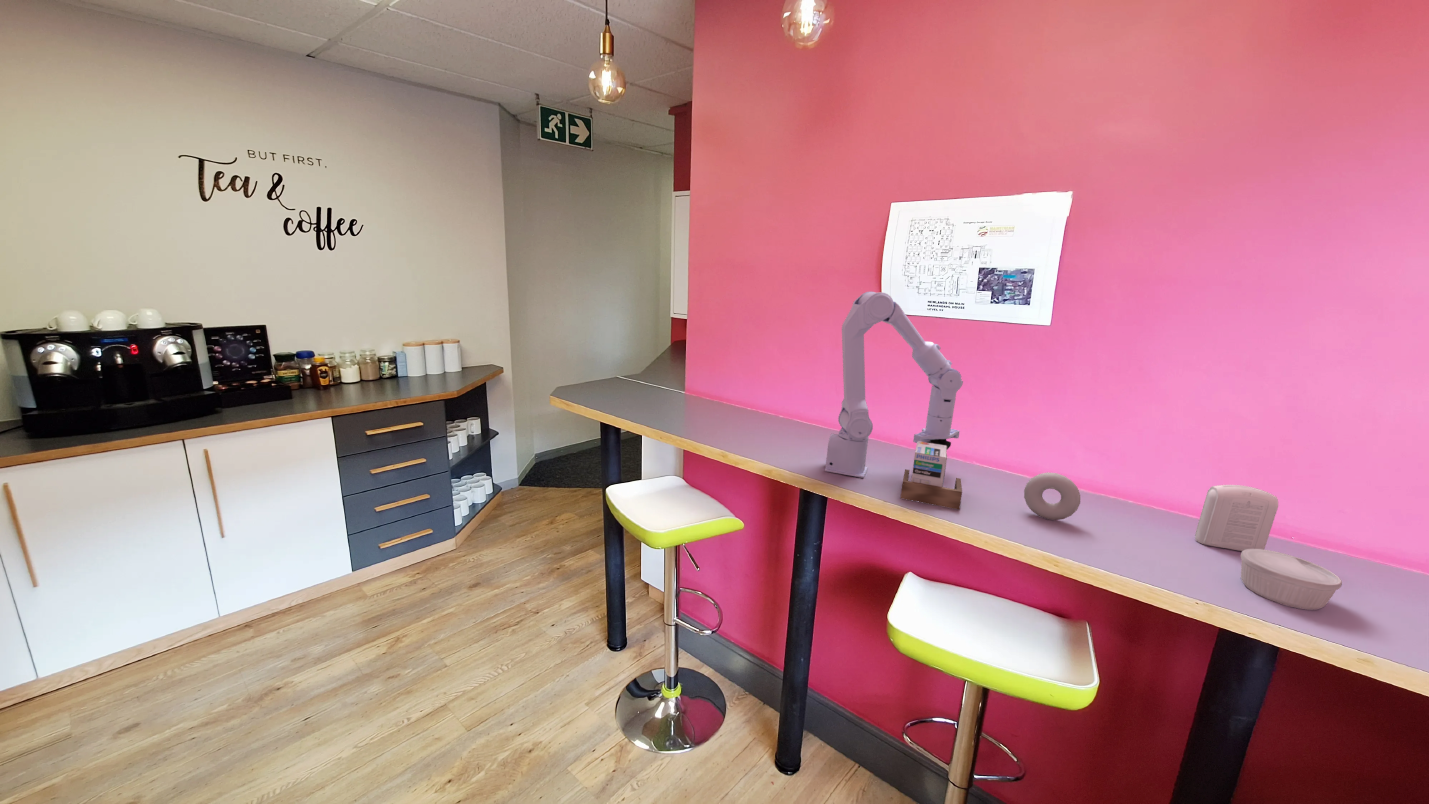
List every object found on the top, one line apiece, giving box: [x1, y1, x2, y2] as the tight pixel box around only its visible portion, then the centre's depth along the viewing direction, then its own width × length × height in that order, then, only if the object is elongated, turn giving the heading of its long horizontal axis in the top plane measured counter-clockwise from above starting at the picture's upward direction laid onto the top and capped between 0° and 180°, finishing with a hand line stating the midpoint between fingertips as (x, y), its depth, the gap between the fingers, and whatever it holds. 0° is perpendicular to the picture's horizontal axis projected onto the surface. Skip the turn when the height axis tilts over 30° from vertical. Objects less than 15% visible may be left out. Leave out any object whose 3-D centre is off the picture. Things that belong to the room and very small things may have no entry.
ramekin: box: [1240, 549, 1343, 611], centre depth 87 cm, size 11×11×5 cm
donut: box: [1023, 471, 1081, 521], centre depth 112 cm, size 10×4×10 cm, turn 55°
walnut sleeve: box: [899, 469, 963, 511], centre depth 120 cm, size 12×9×4 cm
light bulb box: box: [910, 441, 948, 487], centre depth 122 cm, size 11×7×11 cm, turn 157°
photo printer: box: [1194, 484, 1279, 552], centre depth 103 cm, size 10×4×12 cm, turn 72°
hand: (932, 467), depth 135 cm, fingers closed
